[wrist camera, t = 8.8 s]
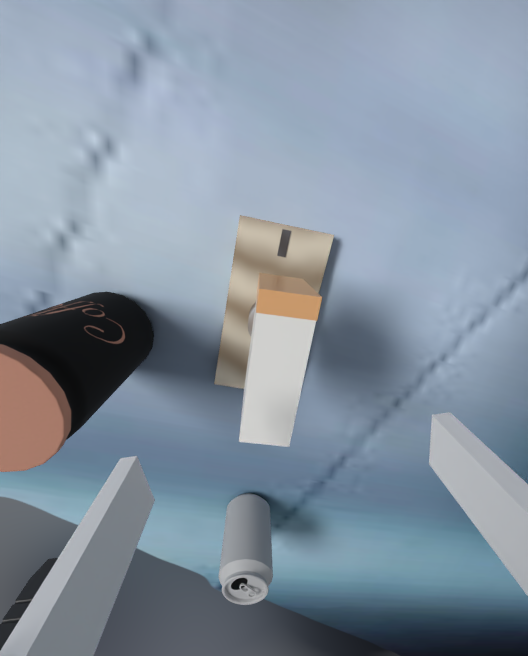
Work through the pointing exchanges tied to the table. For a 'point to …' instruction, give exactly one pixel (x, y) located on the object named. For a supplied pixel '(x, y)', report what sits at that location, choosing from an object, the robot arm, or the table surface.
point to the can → (246, 550)
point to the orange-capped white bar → (277, 358)
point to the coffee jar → (64, 371)
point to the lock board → (249, 260)
